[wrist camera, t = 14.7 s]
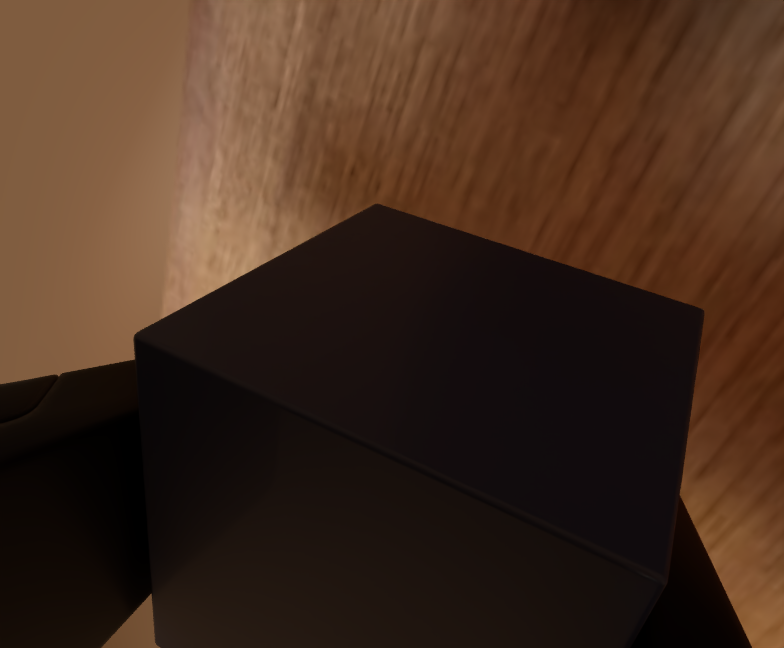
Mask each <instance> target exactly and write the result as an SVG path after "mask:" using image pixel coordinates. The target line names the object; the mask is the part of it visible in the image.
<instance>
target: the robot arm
mask: <svg viewBox="0 0 784 648" xmlns="http://www.w3.org/2000/svg"><path fill="white" fill-rule="evenodd" d="M151 593H152V591H151V577H150V563H149V549H148V535H147V521H146V507H145V493H144V479H143V465H142V451H141V437H140V423H139V408H138V394H137V380H136V366H135V360H130V361H125V362H119V363H115V364H109V365H104V366H98V367H93V368H88V369H82V370H77V371H71V372H66V373H62V374H61V375H60V376H58V375H50V376H45V377H39V378H34V379H29V380H23V381H17V382H12V383H6V384H0V648H101V647H102V646H103V645H104V644H105V643H106V642H107V641H108V640H109V638H111V636H112V635H113V634H114V633H115V632H116V631H117V630H118V629H119V628H120V627H121V626H122V624H123V623H124V622H125V621H126V620H127V619H128V618H129V617H130V616H131V615H132V614H133V612H134V611H135V610H136V609H137V608H138V607H139V606H140V605H141V604H142V603H143V602H144V601H145V600H146V598H147V597H148V596H149V595H150V594H151ZM631 648H752V646H751V644H750V642H749V640H748V638H747V636H746V634H745V632H744V630H743V627H742V625H741V623H740V621H739V619H738V617H737V615H736V613H735V610H734V608H733V606H732V604H731V602H730V600H729V598H728V596H727V594H726V591H725V589H724V587H723V585H722V583H721V581H720V579H719V577H718V575H717V572H716V570H715V568H714V566H713V564H712V562H711V560H710V558H709V556H708V553H707V551H706V549H705V547H704V545H703V543H702V541H701V539H700V537H699V534H698V532H697V530H696V528H695V526H694V524H693V522H692V520H691V518H690V515H689V513H688V511H687V509H686V507H685V505H684V503H683V501H682V498H681V496H679V504H678V511H677V518H676V526H675V533H674V540H673V547H672V555H671V562H670V569H669V577H668V583H667V585H666V587H665V588H664V590H663V592H662V594H661V595H660V597H659V599H658V601H657V602H656V604H655V606H654V607H653V609H652V611H651V613H650V614H649V616H648V618H647V620H646V621H645V623H644V625H643V627H642V628H641V630H640V632H639V634H638V635H637V637H636V639H635V641H634V642H633V644H632V646H631Z"/></svg>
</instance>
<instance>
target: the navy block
mask: <svg viewBox="0 0 784 648" xmlns="http://www.w3.org/2000/svg"><path fill="white" fill-rule="evenodd" d="M703 321H704V310H703V309H701V308H698V307H695V306H692V305H689V304H685V303H682V302H679V301H676V300H673V299H670V298H667V297H664V296H661V295H658V294H655V293H652V292H648V291H645V290H642V289H639V288H636V287H633V286H630V285H627V284H624V283H621V282H618V281H615V280H611V279H608V278H605V277H602V276H599V275H596V274H593V273H590V272H587V271H584V270H581V269H578V268H574V267H571V266H568V265H565V264H562V263H559V262H556V261H553V260H550V259H547V258H544V257H541V256H538V255H534V254H531V253H528V252H525V251H522V250H519V249H516V248H513V247H510V246H507V245H504V244H501V243H497V242H494V241H491V240H488V239H485V238H482V237H479V236H476V235H473V234H470V233H467V232H464V231H460V230H457V229H454V228H451V227H448V226H445V225H442V224H439V223H436V222H433V221H430V220H427V219H423V218H420V217H417V216H414V215H411V214H408V213H405V212H402V211H399V210H396V209H393V208H390V207H386V206H383V205H380V204H374V205H372V206H370V207H369V208H367V209H365V210H363V211H361V212H359V213H357V214H356V215H354V216H352V217H350V218H348V219H346V220H345V221H343V222H341V223H339V224H337V225H335V226H333V227H332V228H330V229H328V230H326V231H324V232H322V233H320V234H319V235H317V236H315V237H313V238H311V239H309V240H307V241H306V242H304V243H302V244H300V245H298V246H296V247H294V248H293V249H291V250H289V251H287V252H285V253H283V254H281V255H280V256H278V257H276V258H274V259H272V260H270V261H269V262H267V263H265V264H263V265H261V266H259V267H257V268H256V269H254V270H252V271H250V272H248V273H246V274H244V275H243V276H241V277H239V278H237V279H235V280H233V281H231V282H230V283H228V284H226V285H224V286H222V287H220V288H218V289H217V290H215V291H213V292H211V293H209V294H207V295H205V296H204V297H202V298H200V299H198V300H196V301H194V302H193V303H191V304H189V305H187V306H185V307H183V308H181V309H180V310H178V311H176V312H174V313H172V314H170V315H168V316H167V317H165V318H163V319H161V320H159V321H157V322H156V323H154V324H152V325H150V326H148V327H146V328H144V329H142V330H141V331H139V332H137V333H136V334H135V335H134V351H135V366H136V380H137V394H138V408H139V423H140V437H141V451H142V465H143V479H144V493H145V507H146V521H147V535H148V549H149V563H150V577H151V591H152V604H153V617H154V618H153V619H154V633H155V643H156V644H157V645H158V646H159V647H161V648H631V646H632V644H633V642H634V641H635V639H636V637H637V635H638V634H639V632H640V630H641V628H642V627H643V625H644V623H645V621H646V620H647V618H648V616H649V614H650V613H651V611H652V609H653V607H654V606H655V604H656V602H657V601H658V599H659V597H660V595H661V594H662V592H663V590H664V588H665V587H666V585H667V583H668V577H669V569H670V562H671V555H672V547H673V540H674V533H675V526H676V518H677V511H678V504H679V496H680V489H681V482H682V475H683V467H684V460H685V453H686V445H687V438H688V431H689V423H690V416H691V409H692V402H693V394H694V387H695V380H696V372H697V365H698V358H699V351H700V343H701V336H702V329H703Z"/></svg>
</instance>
